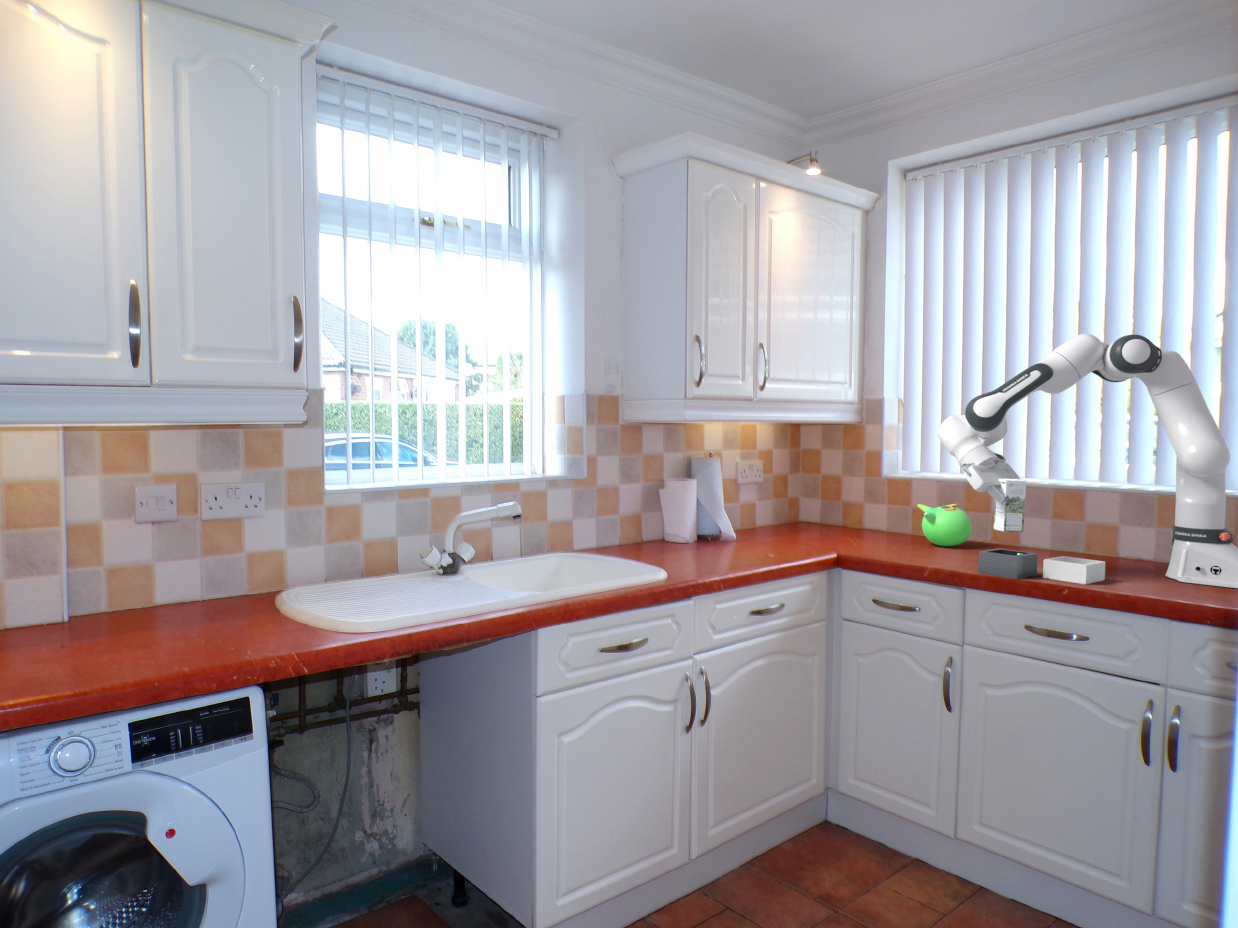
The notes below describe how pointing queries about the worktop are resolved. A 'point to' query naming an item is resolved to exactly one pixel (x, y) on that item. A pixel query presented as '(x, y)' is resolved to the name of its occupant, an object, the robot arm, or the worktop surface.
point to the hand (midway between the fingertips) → (1011, 500)
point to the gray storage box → (1007, 563)
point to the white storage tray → (1074, 569)
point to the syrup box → (1010, 506)
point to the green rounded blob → (945, 525)
